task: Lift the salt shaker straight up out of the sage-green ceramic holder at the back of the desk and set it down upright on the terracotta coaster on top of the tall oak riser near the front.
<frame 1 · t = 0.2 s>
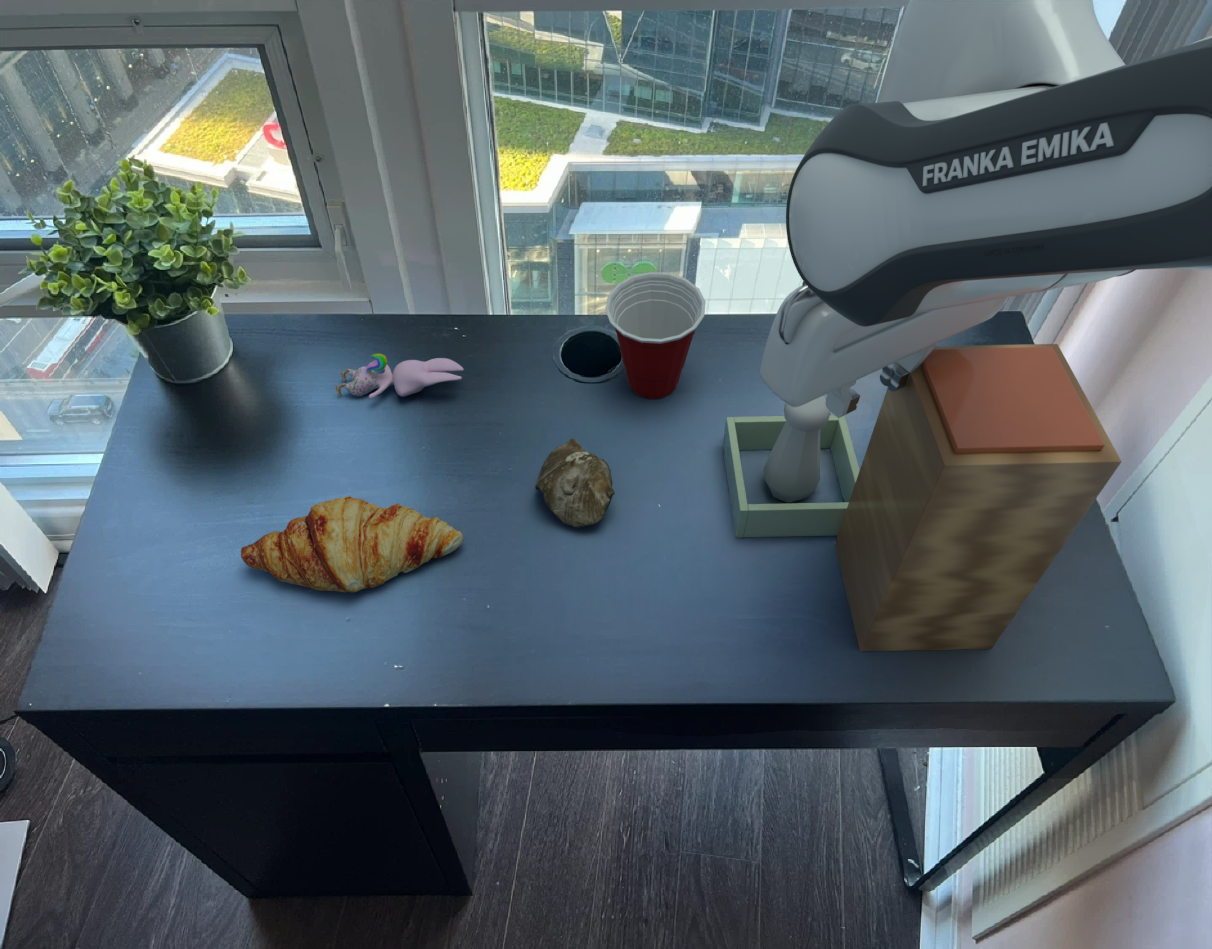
hand: (866, 396, 63), 24 cm above the table, tool pointing down, fingers open, 4 cm apart
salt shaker: (787, 489, 89), resting in holder
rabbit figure: (403, 391, 99), on the table
riser: (909, 594, 80), on the table
croissant: (359, 561, 84), on the table
holder: (788, 488, 89), on the table
plastic cup: (652, 384, 99), on the table
coaster: (1004, 400, 60), resting on riser
fossilized seashell: (575, 497, 89), on the table
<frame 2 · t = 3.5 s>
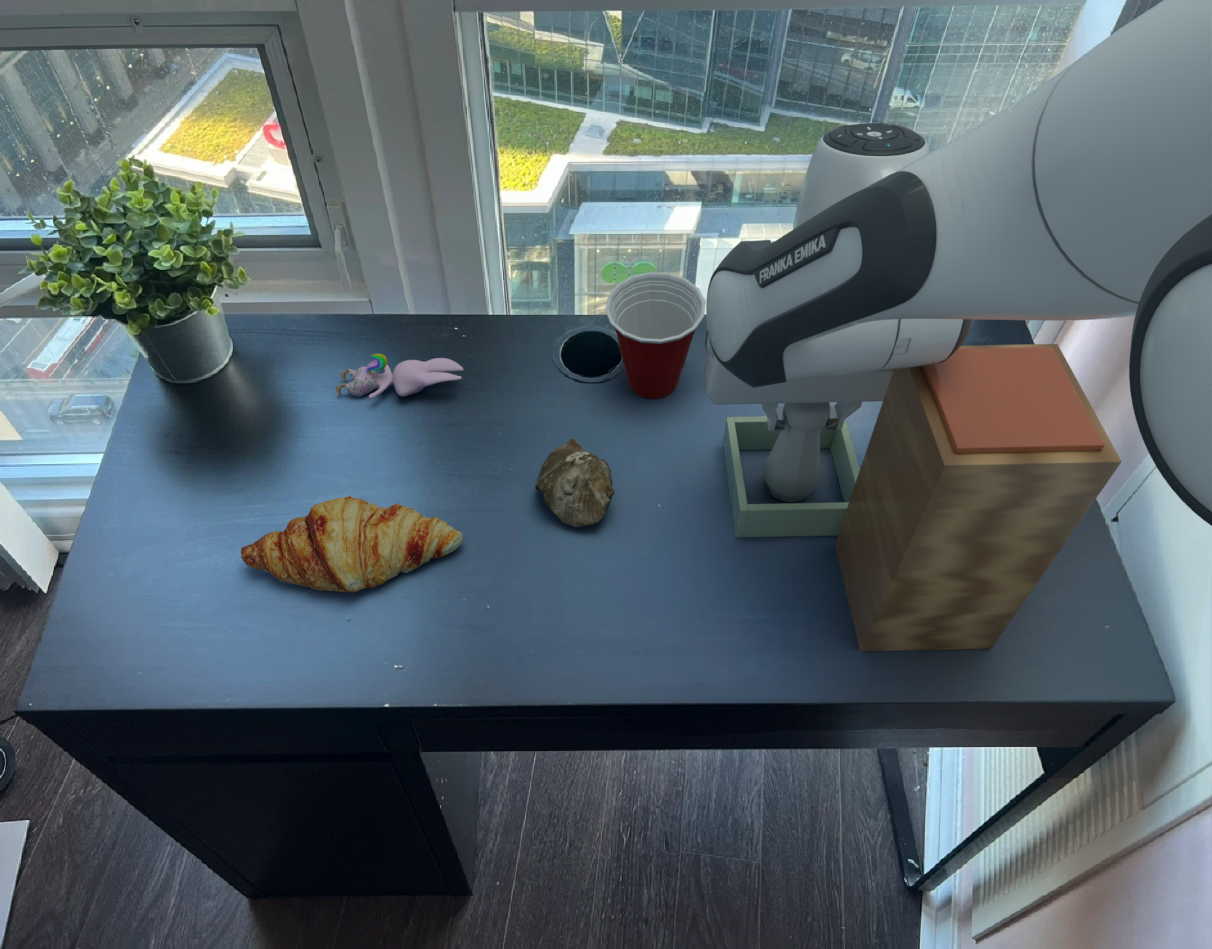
hand: (803, 425, 81), 10 cm above the table, tool pointing down, fingers closed on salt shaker, 4 cm apart
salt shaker: (787, 489, 89), resting in holder, touching gripper
everything else where it was.
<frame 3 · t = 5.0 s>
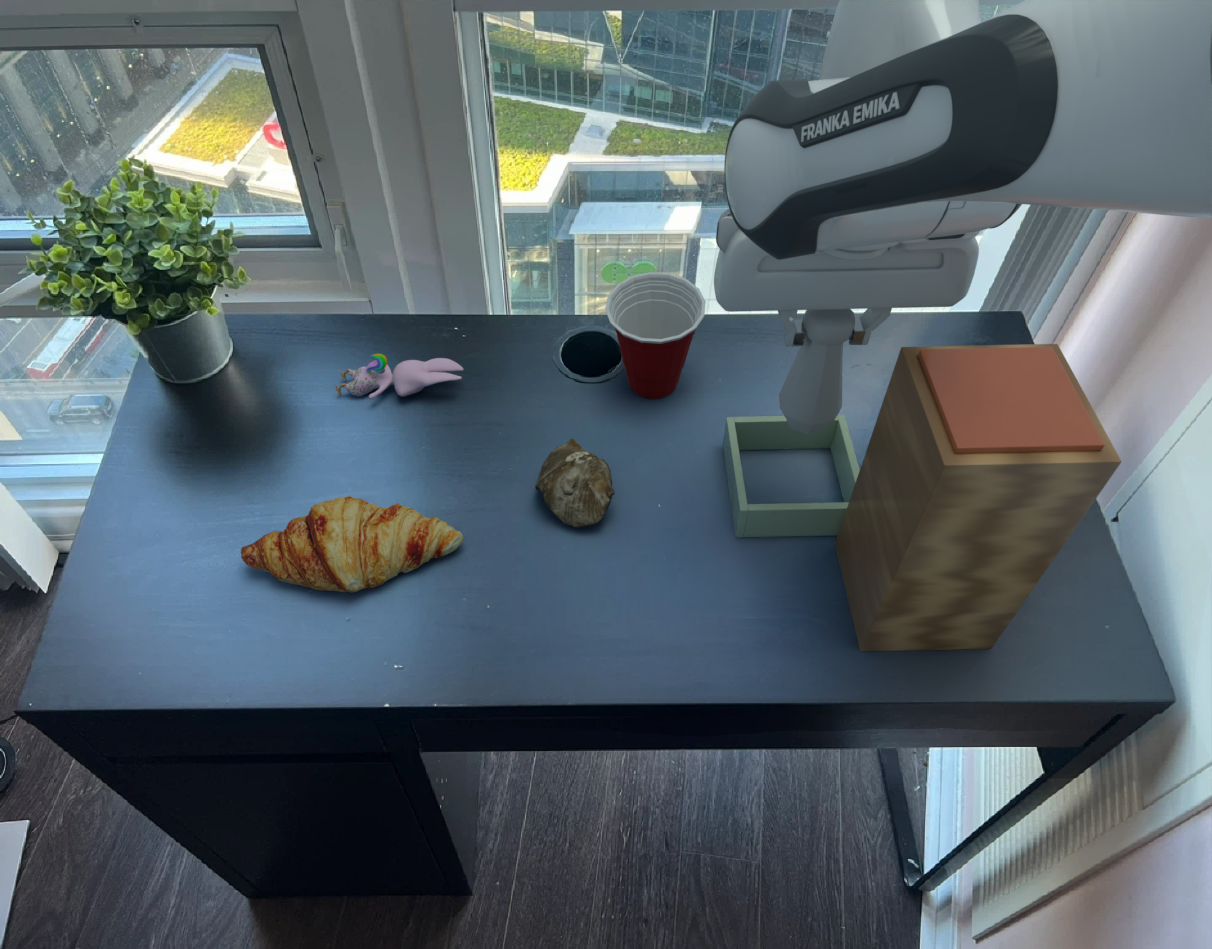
hand: (825, 341, 73), 20 cm above the table, tool pointing down, fingers closed on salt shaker, 4 cm apart
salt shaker: (805, 420, 81), point 11 cm above the table, touching gripper
everything else where it was.
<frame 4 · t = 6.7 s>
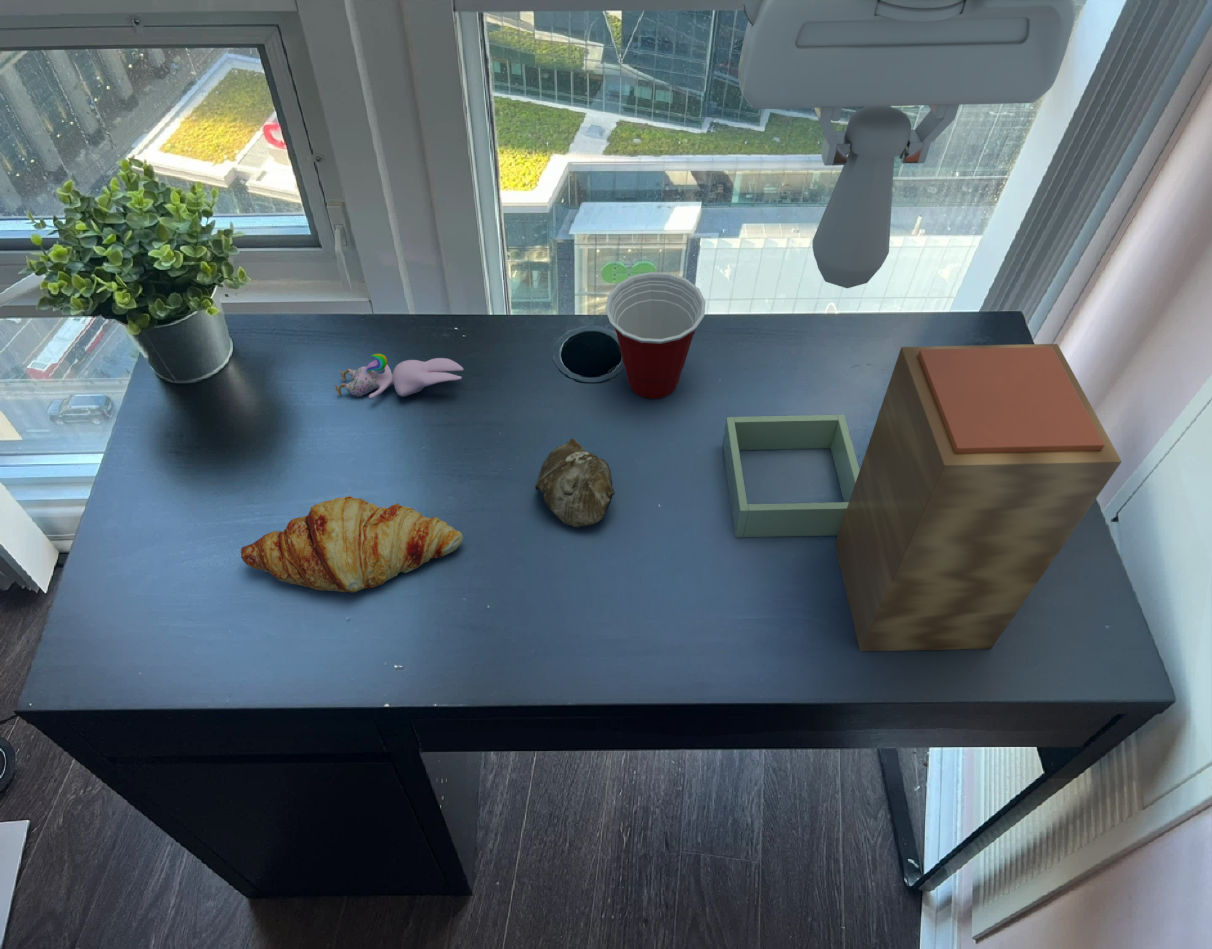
hand: (872, 160, 60), 37 cm above the table, tool pointing down, fingers closed on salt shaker, 4 cm apart
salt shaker: (843, 274, 67), point 28 cm above the table, touching gripper
everything else where it was.
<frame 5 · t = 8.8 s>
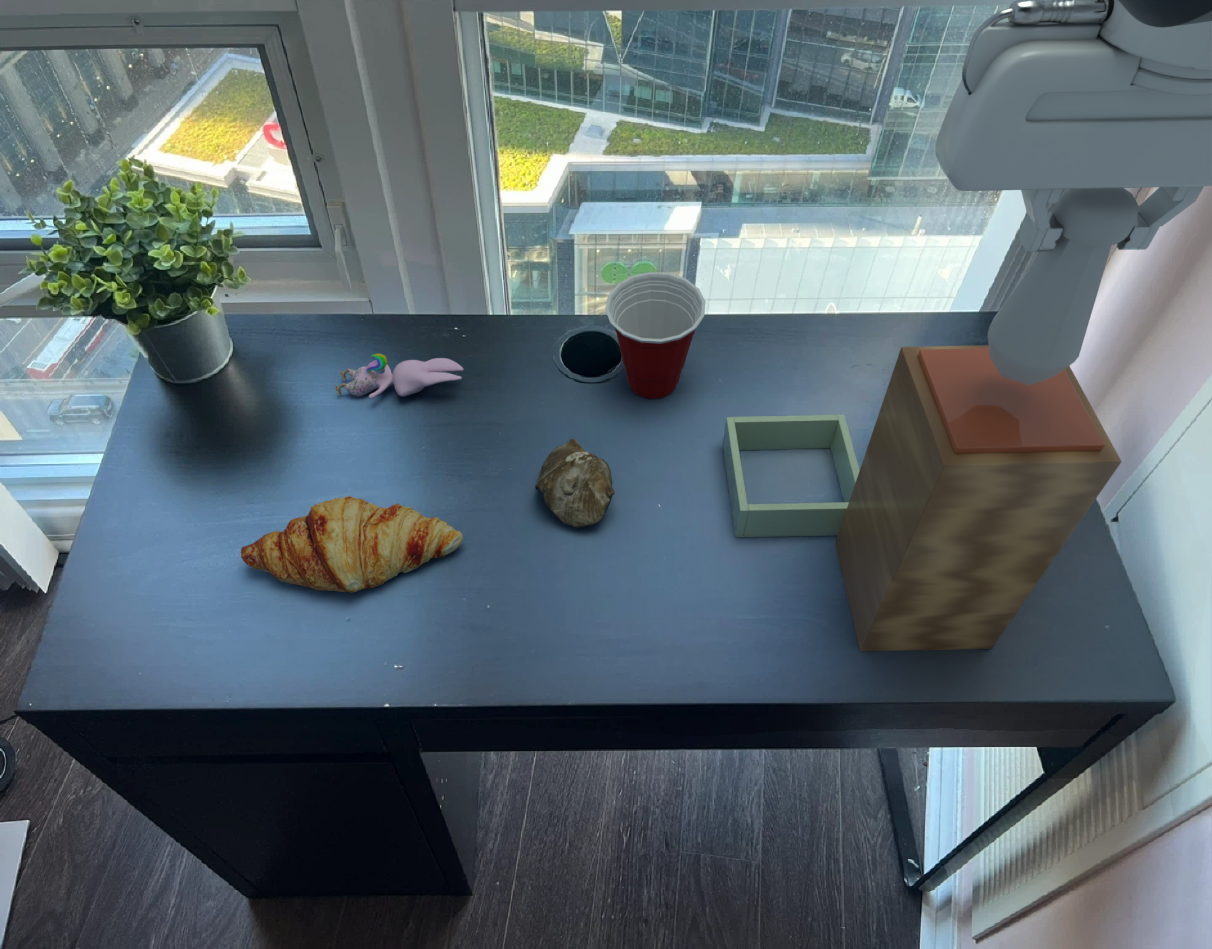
hand: (1081, 245, 50), 39 cm above the table, tool pointing down, fingers closed on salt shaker, 4 cm apart
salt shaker: (1020, 366, 58), point 29 cm above the table, touching gripper
everything else where it was.
when the fingers open (36 cm above the table, at t = 10.1 s): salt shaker stays where it is, resting on coaster.
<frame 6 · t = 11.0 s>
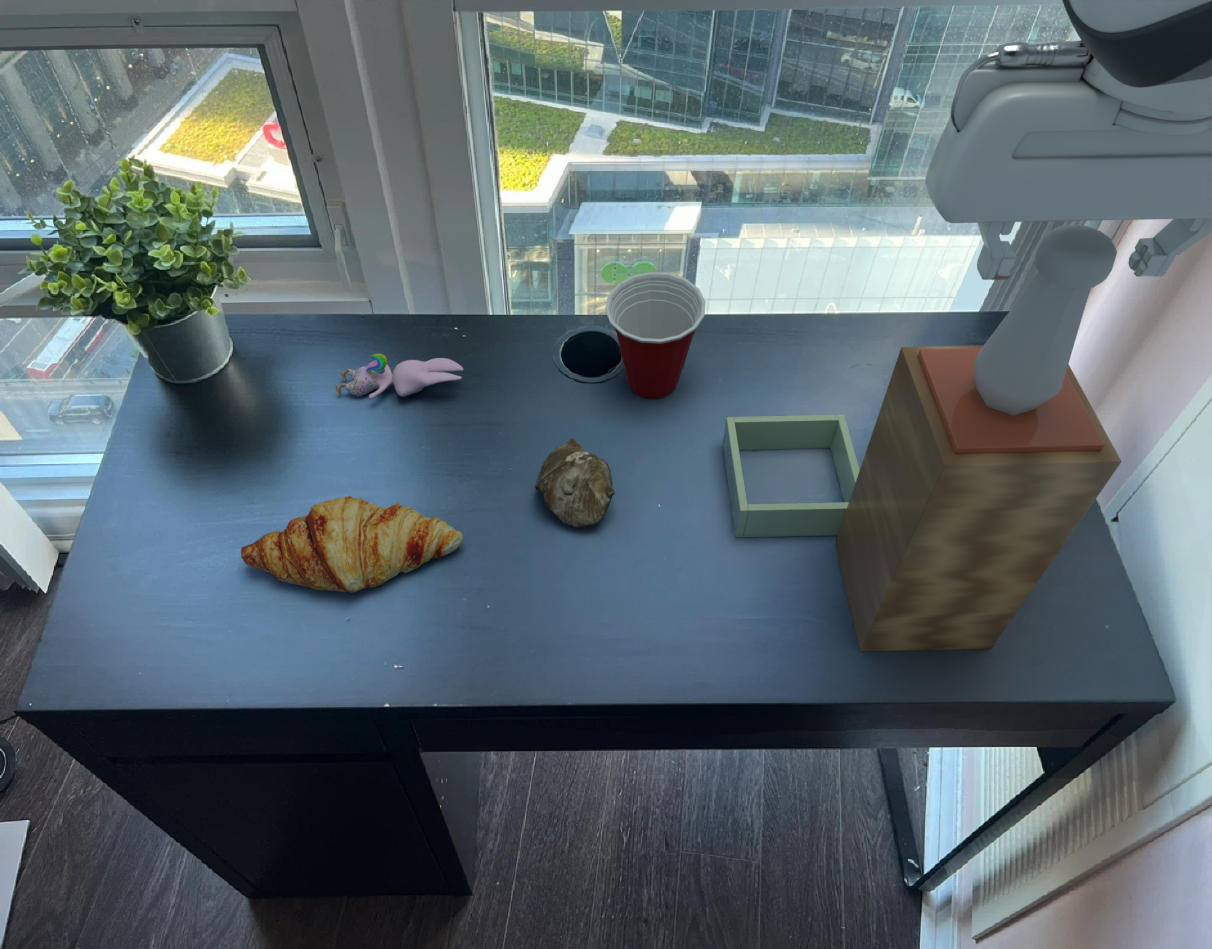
hand: (1067, 272, 52), 37 cm above the table, tool pointing down, fingers open, 8 cm apart
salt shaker: (1005, 397, 60), point 26 cm above the table, touching coaster
everything else where it was.
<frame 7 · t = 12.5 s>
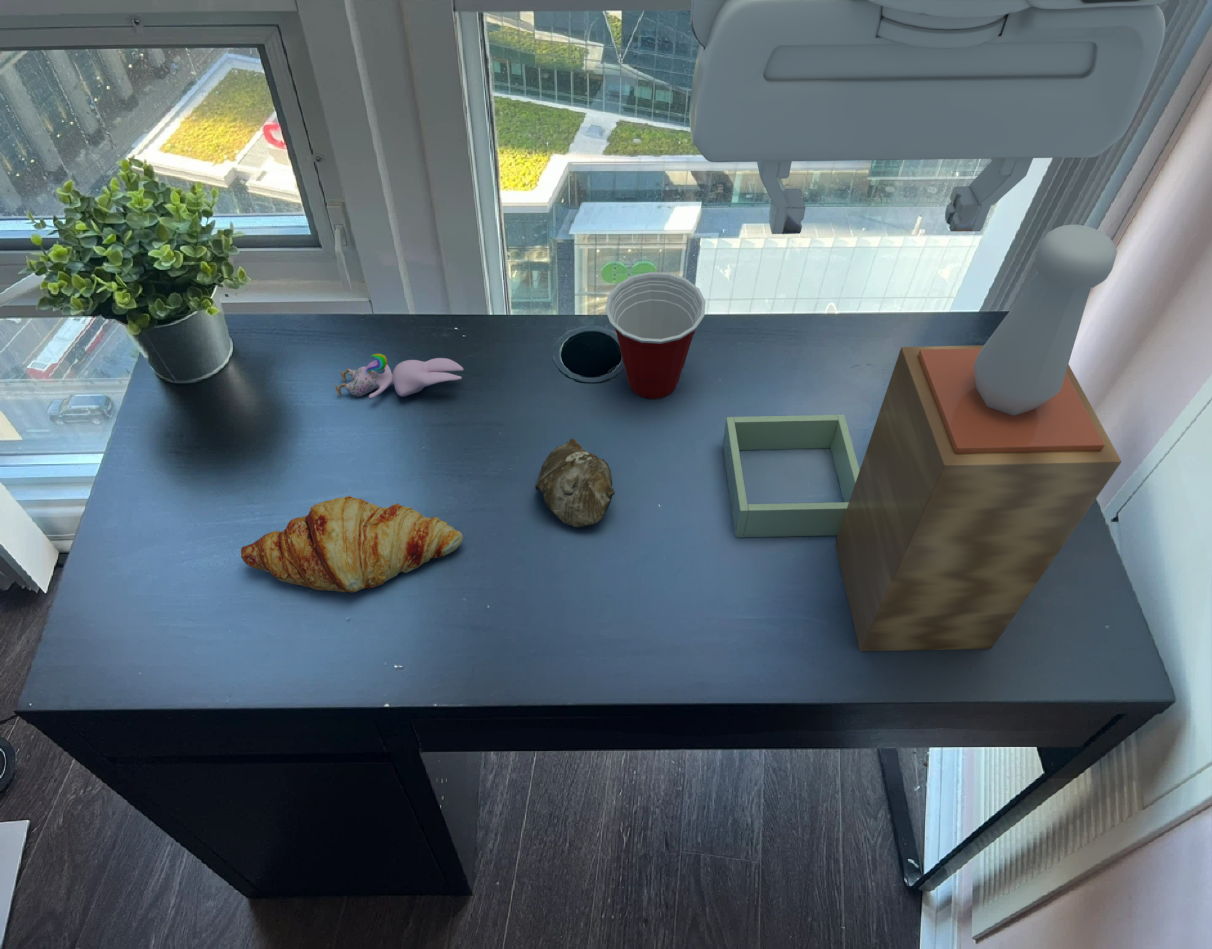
hand: (872, 226, 45), 43 cm above the table, tool pointing down, fingers open, 8 cm apart
nothing on the table moved.
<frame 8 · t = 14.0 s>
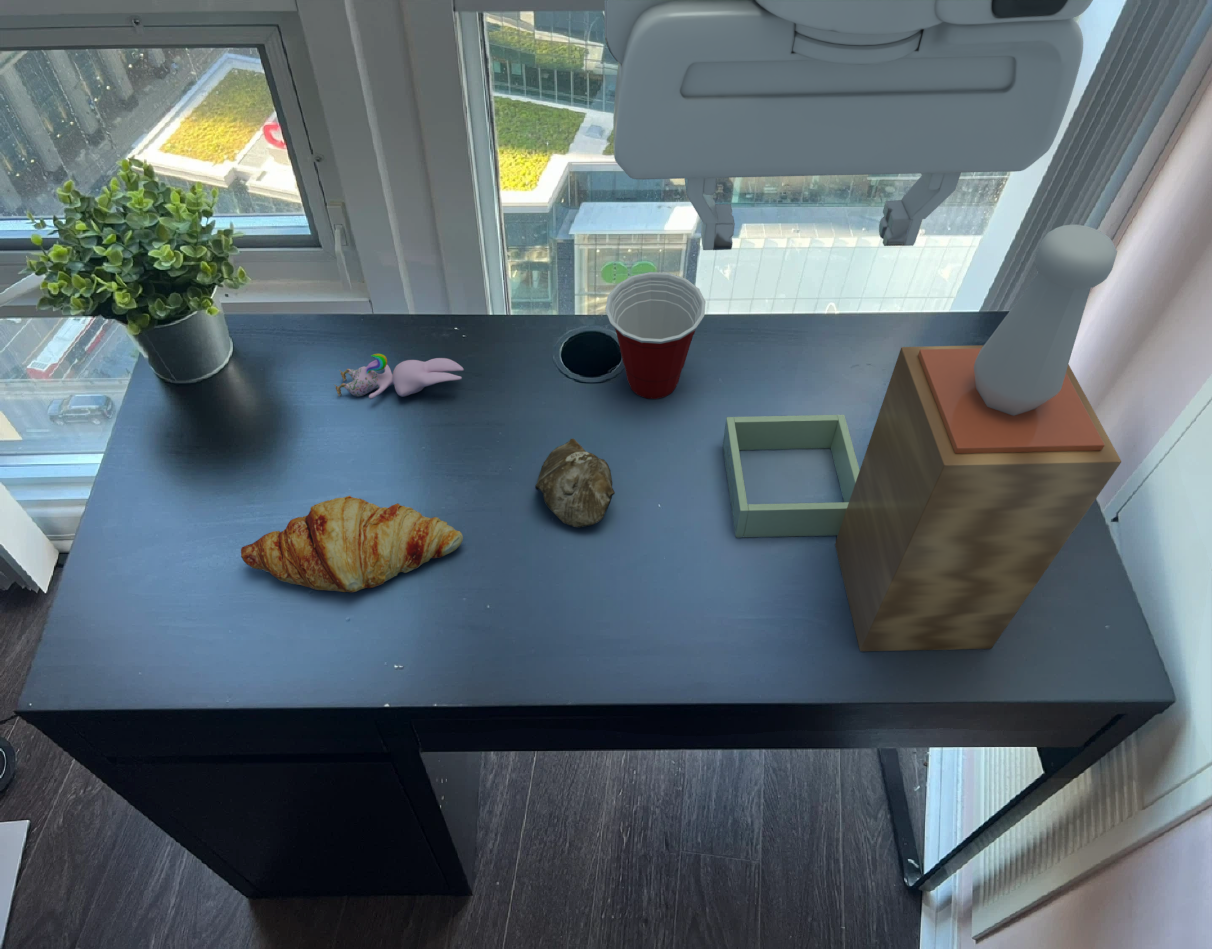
hand: (805, 241, 44), 43 cm above the table, tool pointing down, fingers open, 8 cm apart
nothing on the table moved.
at the end: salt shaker 0.1 cm off-centre on the coaster, point 0.4 cm above the coaster's base; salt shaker tilted 0°; the gripper is holding nothing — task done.
